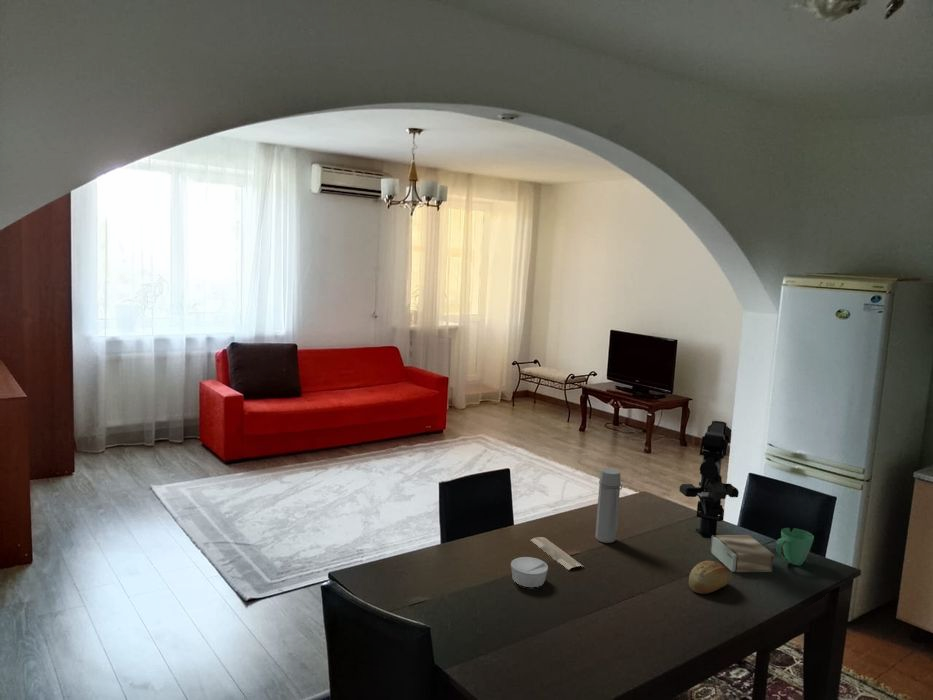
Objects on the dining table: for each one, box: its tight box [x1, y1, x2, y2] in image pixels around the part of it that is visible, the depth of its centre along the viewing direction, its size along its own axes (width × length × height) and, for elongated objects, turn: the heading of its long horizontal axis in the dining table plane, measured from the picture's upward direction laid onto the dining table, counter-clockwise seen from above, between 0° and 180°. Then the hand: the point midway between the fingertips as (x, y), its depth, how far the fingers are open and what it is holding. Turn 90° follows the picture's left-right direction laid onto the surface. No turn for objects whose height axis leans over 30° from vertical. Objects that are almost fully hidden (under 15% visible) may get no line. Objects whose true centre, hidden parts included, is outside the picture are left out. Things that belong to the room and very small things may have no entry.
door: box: [709, 535, 737, 573], centre depth 219 cm, size 15×1×6 cm, turn 6°
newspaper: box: [530, 536, 585, 571], centre depth 219 cm, size 24×7×2 cm, turn 25°
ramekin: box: [510, 556, 549, 588], centre depth 199 cm, size 11×11×5 cm
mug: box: [775, 527, 815, 566], centre depth 220 cm, size 15×10×10 cm
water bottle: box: [595, 467, 623, 544], centre depth 230 cm, size 9×8×25 cm
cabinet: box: [716, 534, 774, 573], centre depth 220 cm, size 15×12×6 cm
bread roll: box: [688, 560, 730, 595], centre depth 200 cm, size 10×15×8 cm, turn 129°
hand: (706, 514), depth 227 cm, fingers closed
